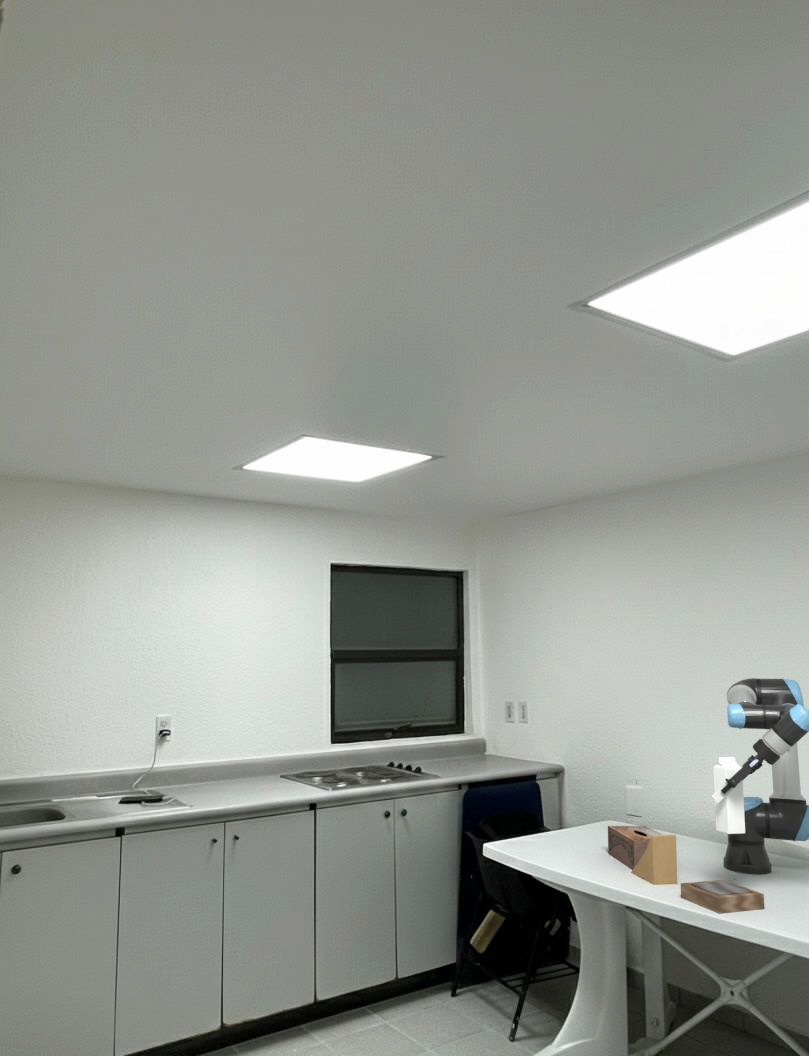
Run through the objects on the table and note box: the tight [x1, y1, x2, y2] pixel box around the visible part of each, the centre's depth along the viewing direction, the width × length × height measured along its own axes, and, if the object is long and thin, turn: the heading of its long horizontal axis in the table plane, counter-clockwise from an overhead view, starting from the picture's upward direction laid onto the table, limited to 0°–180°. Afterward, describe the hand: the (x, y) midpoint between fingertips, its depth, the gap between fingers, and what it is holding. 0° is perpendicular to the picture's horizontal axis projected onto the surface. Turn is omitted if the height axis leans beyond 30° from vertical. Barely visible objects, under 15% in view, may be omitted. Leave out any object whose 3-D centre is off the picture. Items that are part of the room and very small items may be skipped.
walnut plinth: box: [680, 879, 765, 914], centre depth 234 cm, size 16×16×4 cm
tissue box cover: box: [607, 825, 663, 871], centre depth 282 cm, size 26×14×10 cm, turn 5°
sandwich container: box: [630, 834, 678, 886], centre depth 261 cm, size 9×15×15 cm, turn 12°
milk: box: [712, 756, 745, 835], centre depth 246 cm, size 6×6×22 cm
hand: (717, 797), depth 247 cm, fingers closed on milk, 8 cm apart
